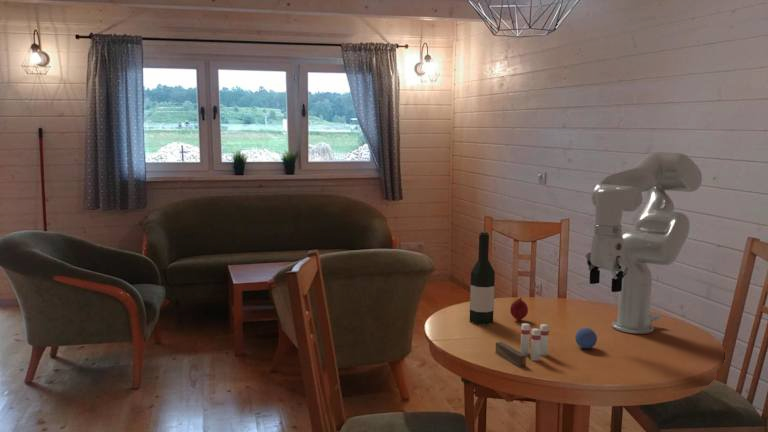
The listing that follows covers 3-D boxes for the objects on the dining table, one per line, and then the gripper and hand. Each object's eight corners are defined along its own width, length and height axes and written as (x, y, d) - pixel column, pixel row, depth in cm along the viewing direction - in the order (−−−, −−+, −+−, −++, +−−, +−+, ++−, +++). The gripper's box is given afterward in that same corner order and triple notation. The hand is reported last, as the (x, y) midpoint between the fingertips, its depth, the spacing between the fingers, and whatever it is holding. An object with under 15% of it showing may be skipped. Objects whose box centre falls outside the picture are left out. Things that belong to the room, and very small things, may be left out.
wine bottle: (474, 325, 211) (477, 234, 207) (465, 318, 219) (467, 230, 215) (498, 323, 213) (501, 233, 209) (488, 316, 221) (491, 229, 217)
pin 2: (536, 357, 182) (537, 328, 181) (541, 360, 180) (542, 330, 179) (528, 358, 181) (529, 329, 180) (533, 361, 179) (535, 331, 178)
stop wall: (501, 351, 186) (501, 341, 186) (525, 366, 175) (526, 355, 175) (495, 352, 186) (495, 342, 185) (519, 367, 175) (519, 356, 174)
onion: (527, 323, 213) (528, 300, 212) (509, 322, 214) (510, 299, 213) (527, 318, 219) (528, 295, 218) (510, 317, 220) (510, 294, 219)
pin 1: (525, 351, 187) (527, 322, 186) (530, 354, 184) (532, 325, 183) (518, 352, 186) (519, 323, 185) (523, 355, 184) (524, 326, 182)
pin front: (544, 352, 186) (545, 323, 185) (549, 355, 184) (550, 326, 183) (536, 353, 185) (538, 324, 184) (542, 356, 183) (543, 327, 182)
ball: (587, 343, 194) (588, 324, 193) (600, 350, 189) (601, 330, 188) (570, 346, 192) (571, 326, 191) (584, 352, 186) (585, 332, 186)
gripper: (639, 234, 182) (636, 293, 185) (599, 225, 198) (596, 279, 201) (617, 236, 180) (614, 296, 182) (578, 226, 196) (576, 281, 198)
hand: (605, 287), depth 192 cm, fingers open, 9 cm apart
